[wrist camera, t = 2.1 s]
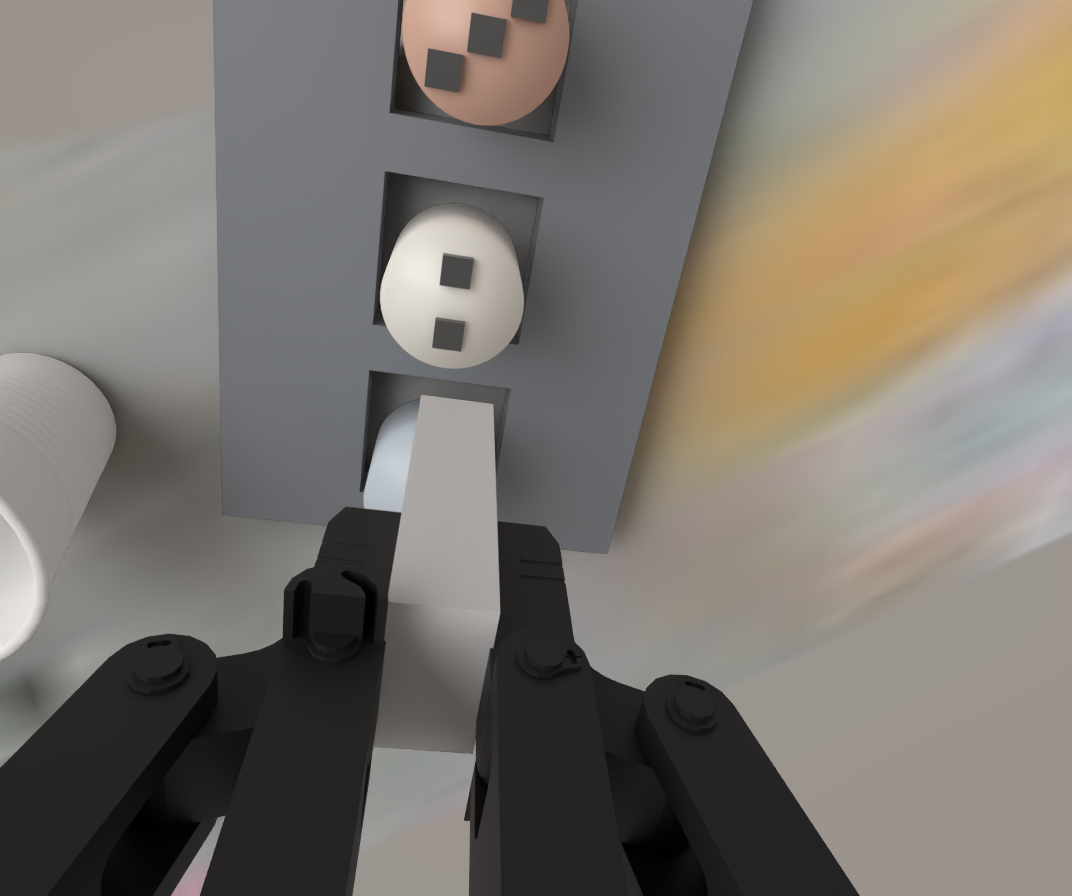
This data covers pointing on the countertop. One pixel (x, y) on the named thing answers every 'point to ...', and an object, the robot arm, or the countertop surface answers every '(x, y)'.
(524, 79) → the button three
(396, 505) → the button one
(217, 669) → the robot arm
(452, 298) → the button two
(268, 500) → the console
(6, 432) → the cup
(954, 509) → the countertop surface
